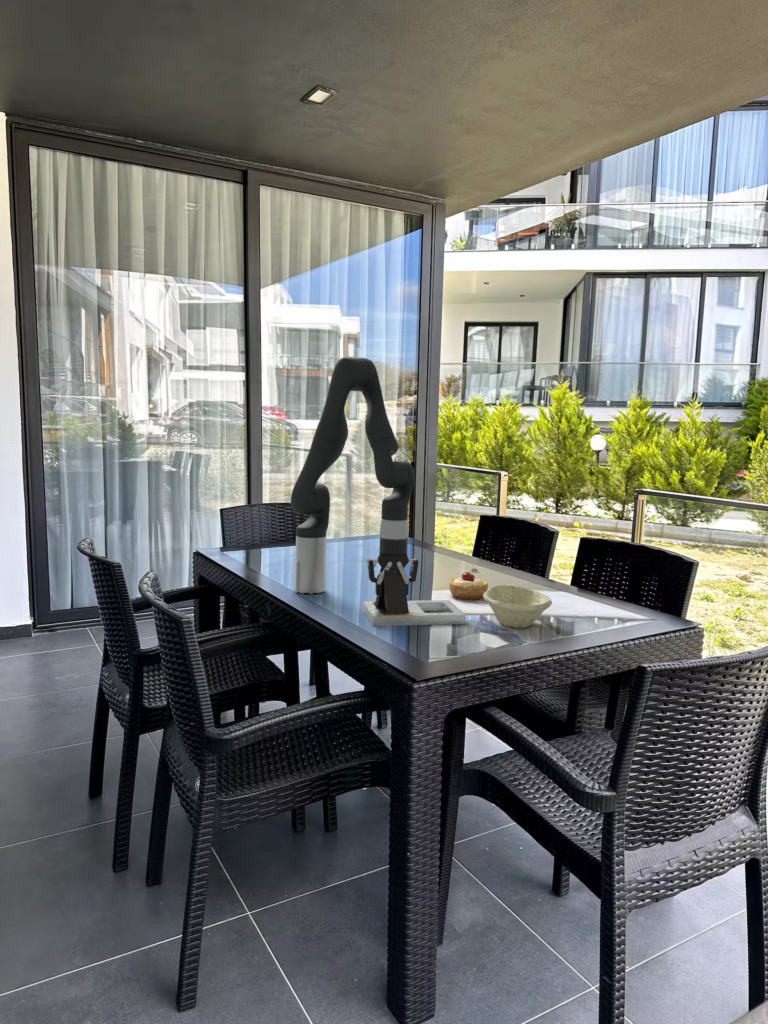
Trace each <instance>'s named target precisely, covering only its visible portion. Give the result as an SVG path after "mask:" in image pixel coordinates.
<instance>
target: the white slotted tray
mask: <svg viewBox="0 0 768 1024" xmlns="http://www.w3.org/2000/svg"><path fill="white" fill-rule="evenodd" d="M375 602H376V600H369V601H368V600H367V601H362V611H363V613H364V612H365V613H364V615H365V616H366V618H367V619H368V621H369V620H370V621H369V622H370V624H371V625H372V626H373V627H383V626H385V627H387V626H392V627H393V626H394V627H395V626H419V625H420V626H424V625H425V626H427V625H430V626H431V625H432V626H433V625H466V617H467V614H466V613H464V612H463V610H461V609H460V608H459V607H458V606H457V605H455V604H454V603H453V602H452V601H450V600H449V599H435V600H434V599H431V600H429V599H428V600H427V599H426V600H425V599H424V600H423V599H421V600H407V602H408V610H409V613H384V612H382V611H380V610H379V609H377V608H376V606H375Z"/></svg>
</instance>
